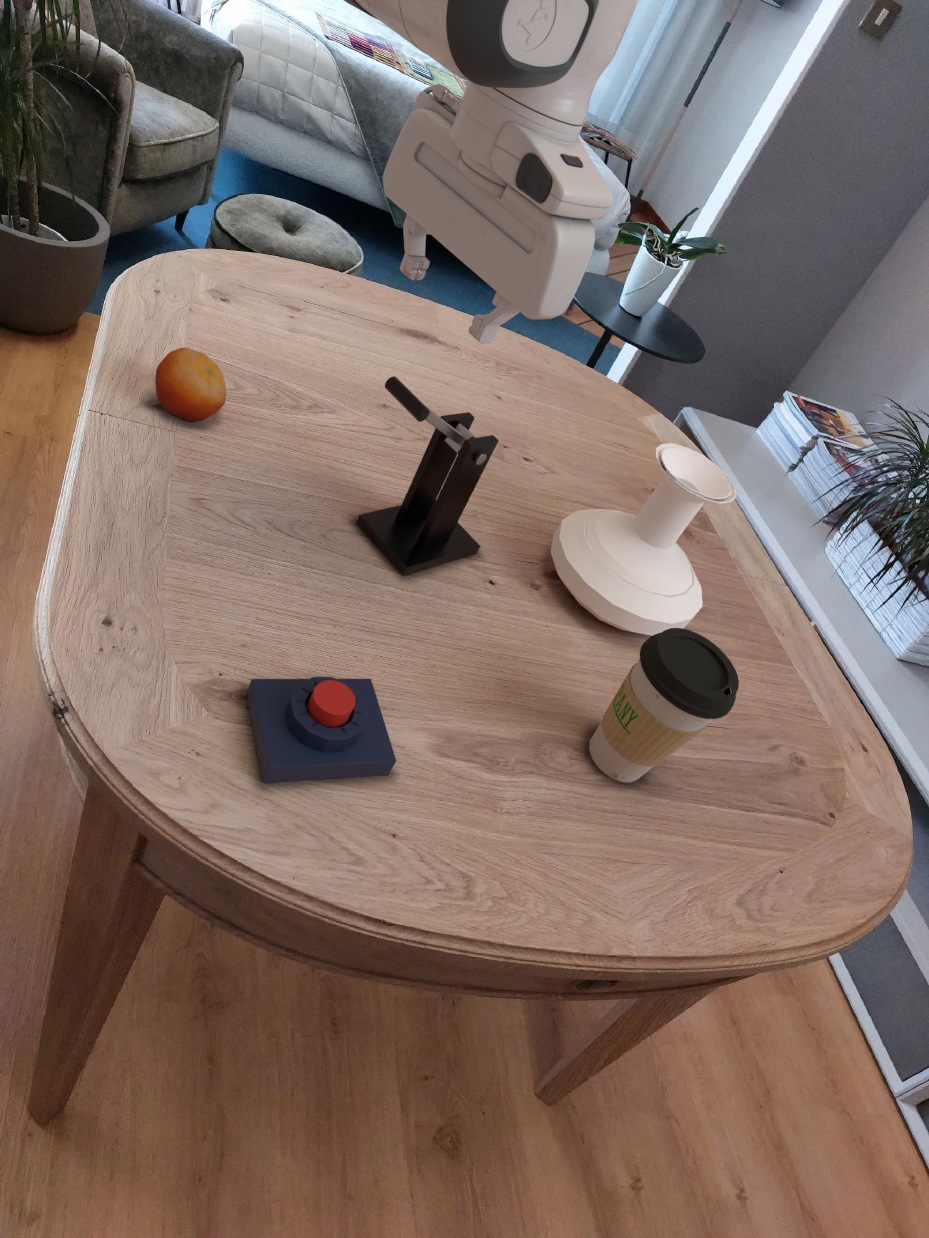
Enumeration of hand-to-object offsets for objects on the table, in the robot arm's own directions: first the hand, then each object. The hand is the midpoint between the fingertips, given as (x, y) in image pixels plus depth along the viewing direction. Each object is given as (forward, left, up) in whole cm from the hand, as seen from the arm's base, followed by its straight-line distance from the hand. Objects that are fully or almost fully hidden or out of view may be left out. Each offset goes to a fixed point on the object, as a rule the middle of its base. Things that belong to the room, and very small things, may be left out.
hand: (444, 306), depth 71 cm
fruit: (-14, +23, -30) cm, 40 cm away
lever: (+5, +2, -14) cm, 15 cm away
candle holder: (+35, -3, -30) cm, 46 cm away
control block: (-8, -23, -30) cm, 38 cm away
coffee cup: (+23, -27, -30) cm, 46 cm away
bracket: (+10, +4, -30) cm, 32 cm away
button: (-8, -23, -26) cm, 35 cm away
